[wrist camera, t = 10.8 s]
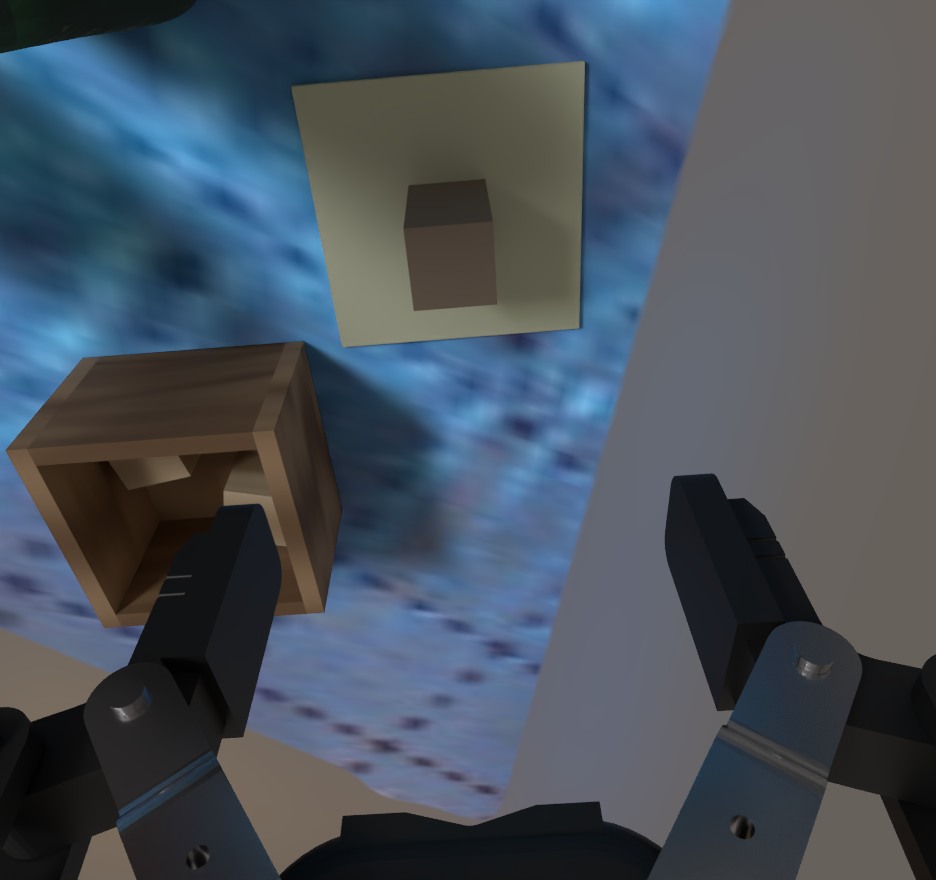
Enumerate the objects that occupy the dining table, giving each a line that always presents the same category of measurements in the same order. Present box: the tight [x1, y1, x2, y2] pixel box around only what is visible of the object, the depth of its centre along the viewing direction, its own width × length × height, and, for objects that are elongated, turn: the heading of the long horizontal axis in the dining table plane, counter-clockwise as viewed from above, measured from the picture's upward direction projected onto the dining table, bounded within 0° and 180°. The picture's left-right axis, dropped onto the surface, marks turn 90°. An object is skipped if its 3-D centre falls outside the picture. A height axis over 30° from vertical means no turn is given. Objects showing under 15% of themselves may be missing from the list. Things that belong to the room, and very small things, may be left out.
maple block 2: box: [224, 451, 286, 546], centre depth 34 cm, size 3×3×3 cm
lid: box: [291, 61, 585, 347], centre depth 27 cm, size 11×11×6 cm
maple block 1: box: [109, 454, 201, 490], centre depth 32 cm, size 3×3×3 cm
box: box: [5, 341, 342, 628], centre depth 32 cm, size 10×10×7 cm
